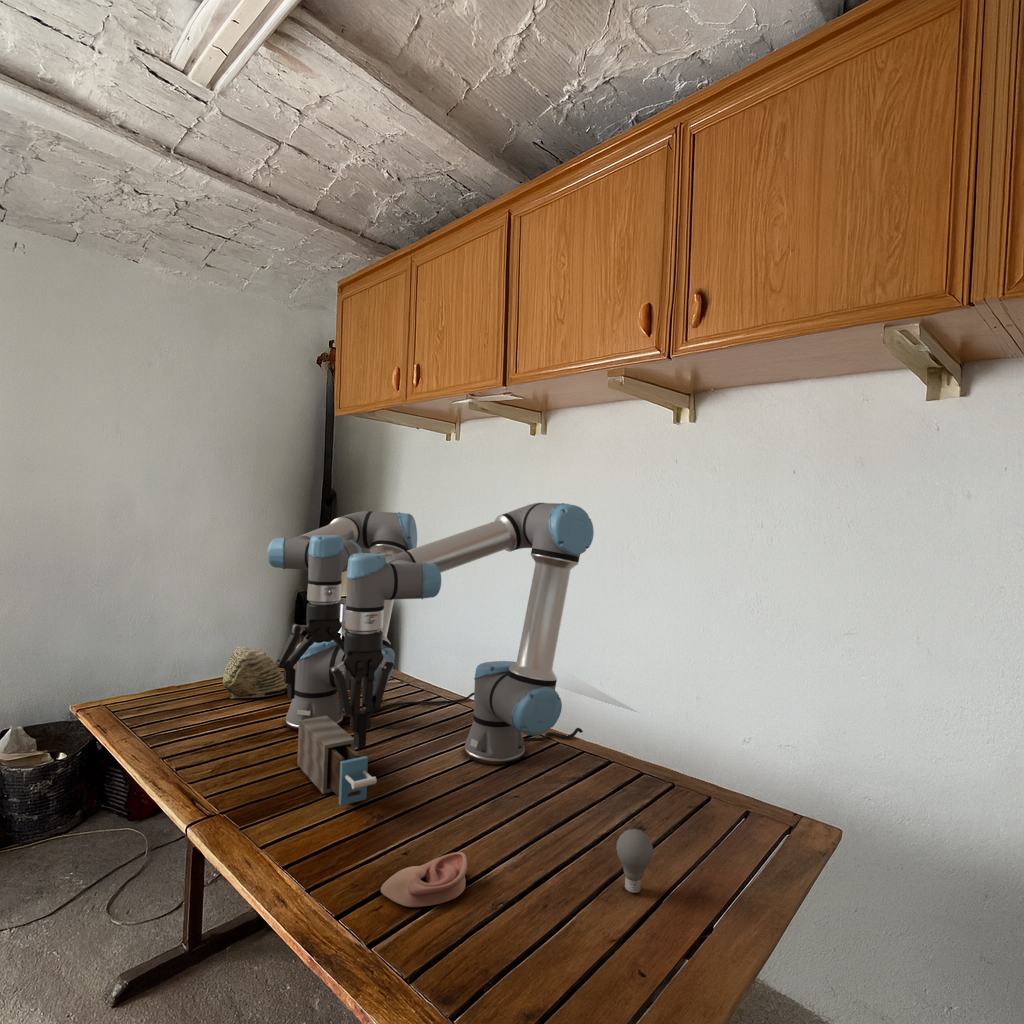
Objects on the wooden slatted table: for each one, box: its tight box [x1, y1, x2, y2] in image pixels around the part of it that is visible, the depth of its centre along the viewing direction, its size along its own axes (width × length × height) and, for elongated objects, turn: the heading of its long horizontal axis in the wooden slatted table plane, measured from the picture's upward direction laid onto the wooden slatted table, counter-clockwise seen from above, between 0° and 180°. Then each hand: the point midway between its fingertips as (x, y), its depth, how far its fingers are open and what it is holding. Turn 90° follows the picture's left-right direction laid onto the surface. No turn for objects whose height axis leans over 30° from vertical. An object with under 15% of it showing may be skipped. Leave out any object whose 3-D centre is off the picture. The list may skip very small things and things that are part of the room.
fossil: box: [222, 646, 288, 699], centre depth 198 cm, size 9×18×15 cm, turn 132°
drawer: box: [327, 744, 378, 807], centre depth 134 cm, size 22×6×9 cm, turn 36°
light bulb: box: [615, 828, 654, 894], centre depth 106 cm, size 6×6×10 cm
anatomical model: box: [380, 851, 468, 908], centre depth 104 cm, size 13×4×12 cm
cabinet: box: [296, 716, 356, 795], centre depth 144 cm, size 17×7×10 cm, turn 36°
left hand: (320, 693), depth 147 cm, fingers open, 13 cm apart
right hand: (359, 745), depth 128 cm, fingers closed
